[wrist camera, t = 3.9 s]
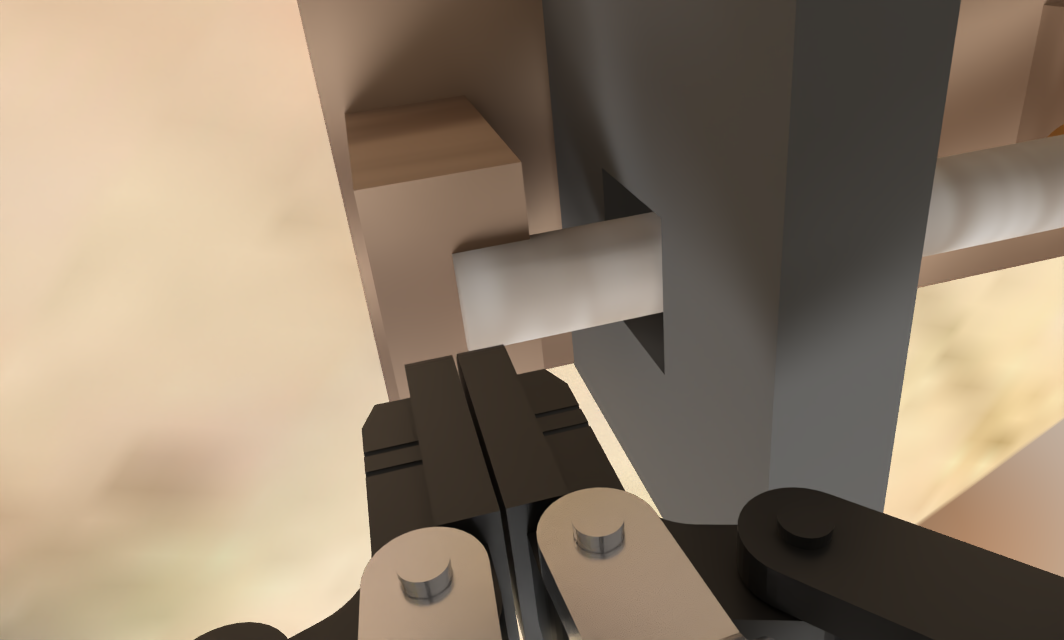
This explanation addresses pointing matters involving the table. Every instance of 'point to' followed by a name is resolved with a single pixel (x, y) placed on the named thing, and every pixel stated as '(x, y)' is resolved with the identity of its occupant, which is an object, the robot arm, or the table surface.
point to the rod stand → (625, 243)
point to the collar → (754, 230)
